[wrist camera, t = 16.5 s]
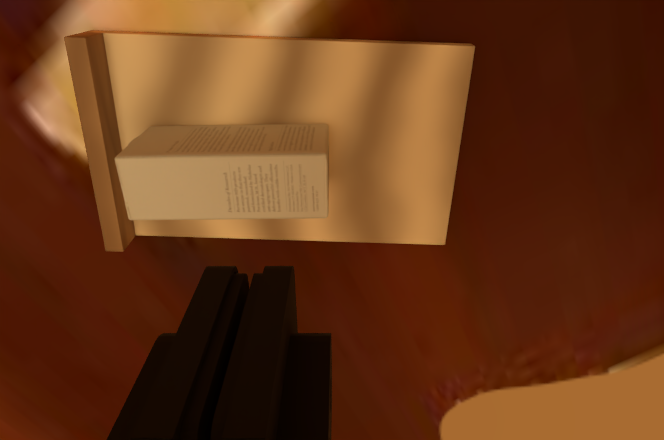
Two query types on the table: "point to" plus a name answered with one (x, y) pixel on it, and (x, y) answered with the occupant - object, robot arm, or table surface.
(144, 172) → the skincare box
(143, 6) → the table surface
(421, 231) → the board
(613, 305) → the table surface
